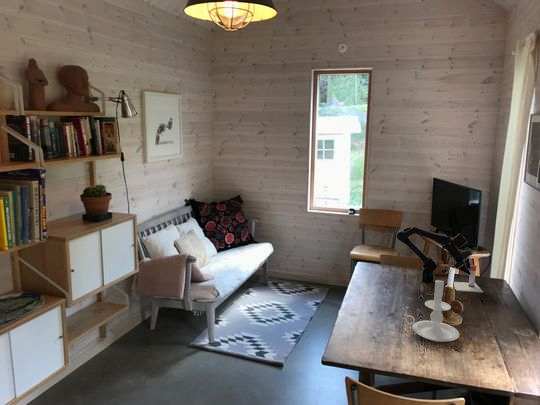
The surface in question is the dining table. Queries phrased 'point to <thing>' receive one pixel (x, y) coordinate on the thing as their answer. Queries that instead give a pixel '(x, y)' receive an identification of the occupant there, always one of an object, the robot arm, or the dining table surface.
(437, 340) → the candlestick
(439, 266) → the lion figurine
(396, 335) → the dining table surface
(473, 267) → the marker
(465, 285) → the notepad
